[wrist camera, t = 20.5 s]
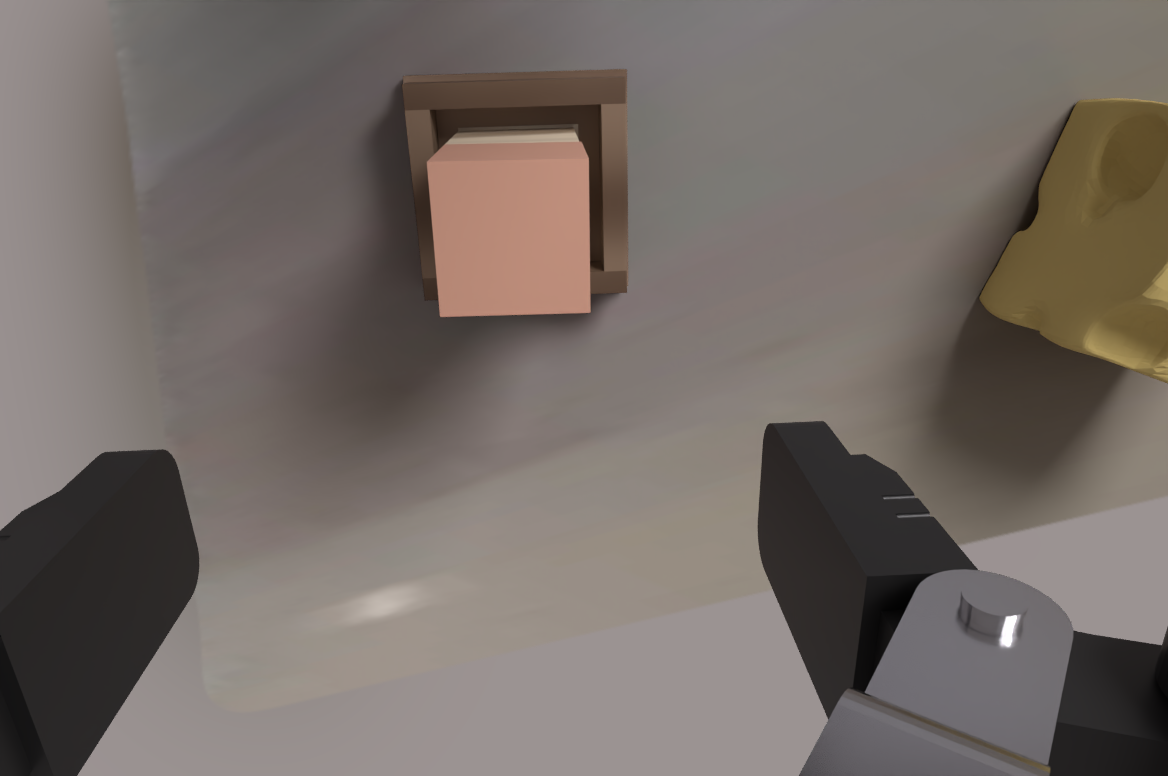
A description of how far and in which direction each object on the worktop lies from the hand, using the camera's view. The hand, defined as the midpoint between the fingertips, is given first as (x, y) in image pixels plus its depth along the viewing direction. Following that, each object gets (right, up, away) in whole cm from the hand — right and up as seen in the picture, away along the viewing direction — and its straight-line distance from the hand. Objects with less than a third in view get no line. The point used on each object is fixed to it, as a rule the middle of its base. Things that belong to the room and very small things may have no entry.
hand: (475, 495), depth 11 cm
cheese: (+27, +9, +28) cm, 40 cm away
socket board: (-1, +11, +26) cm, 28 cm away
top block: (-1, +8, +20) cm, 21 cm away
